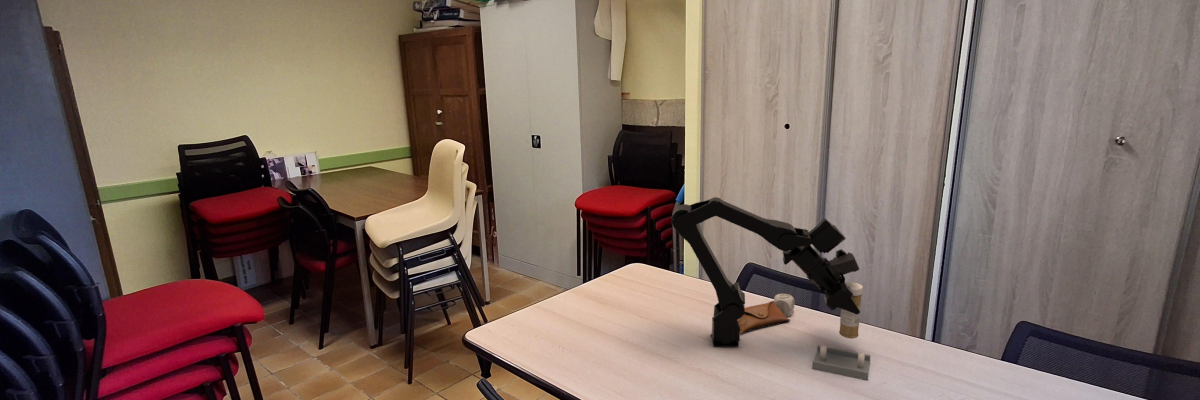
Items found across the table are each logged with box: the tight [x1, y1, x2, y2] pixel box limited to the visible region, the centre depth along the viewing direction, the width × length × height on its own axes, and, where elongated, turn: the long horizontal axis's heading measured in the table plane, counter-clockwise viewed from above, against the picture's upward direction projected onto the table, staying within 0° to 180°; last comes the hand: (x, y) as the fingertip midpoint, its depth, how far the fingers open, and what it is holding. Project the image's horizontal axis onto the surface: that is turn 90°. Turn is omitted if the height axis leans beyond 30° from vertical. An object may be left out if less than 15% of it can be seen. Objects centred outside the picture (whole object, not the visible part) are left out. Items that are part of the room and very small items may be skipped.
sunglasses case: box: [737, 300, 791, 334], centre depth 159 cm, size 18×7×7 cm, turn 115°
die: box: [772, 293, 796, 317], centre depth 165 cm, size 5×5×5 cm
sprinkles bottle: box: [838, 281, 864, 339], centre depth 140 cm, size 5×5×13 cm
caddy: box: [811, 344, 871, 381], centre depth 135 cm, size 12×9×4 cm
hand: (856, 309), depth 139 cm, fingers closed on sprinkles bottle, 4 cm apart
